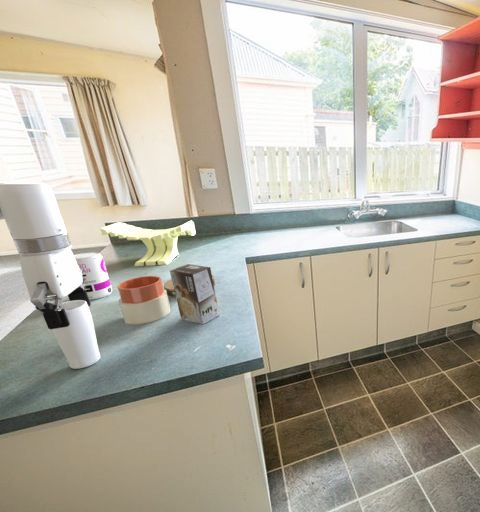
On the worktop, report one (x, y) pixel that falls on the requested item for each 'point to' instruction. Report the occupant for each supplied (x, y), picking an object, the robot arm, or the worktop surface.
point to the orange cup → (140, 289)
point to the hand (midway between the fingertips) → (71, 316)
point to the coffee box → (195, 293)
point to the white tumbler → (78, 335)
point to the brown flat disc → (170, 289)
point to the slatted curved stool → (152, 240)
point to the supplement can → (94, 274)
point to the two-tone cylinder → (145, 310)
